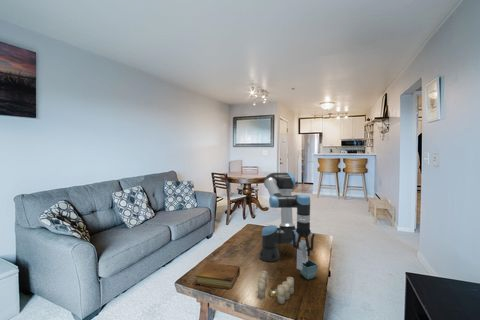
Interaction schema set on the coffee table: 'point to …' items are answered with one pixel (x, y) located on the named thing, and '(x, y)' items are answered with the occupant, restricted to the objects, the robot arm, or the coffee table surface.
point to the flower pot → (309, 269)
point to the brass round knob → (273, 292)
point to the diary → (218, 275)
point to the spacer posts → (282, 290)
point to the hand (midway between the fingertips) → (302, 260)
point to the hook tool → (301, 254)
